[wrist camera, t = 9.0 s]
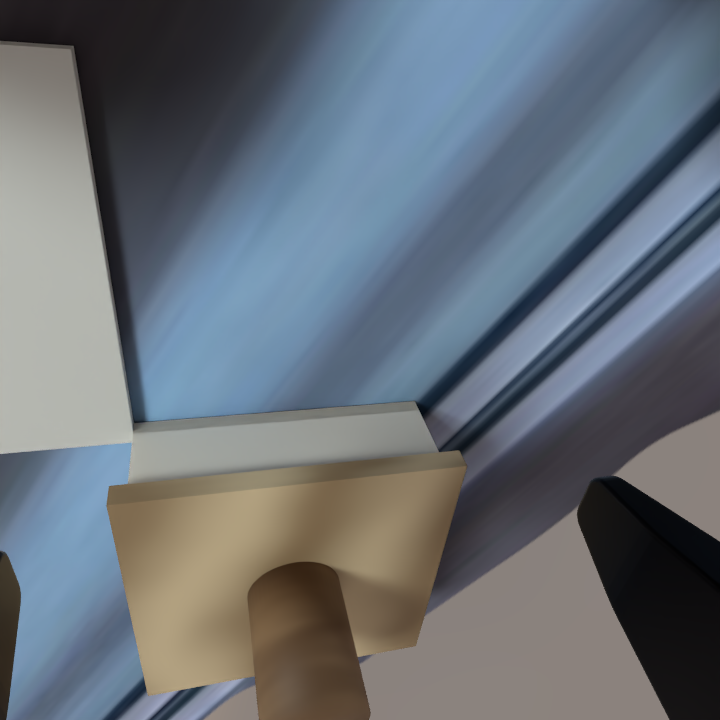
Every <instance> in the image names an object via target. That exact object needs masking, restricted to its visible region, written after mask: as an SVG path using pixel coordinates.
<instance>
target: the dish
mask: <svg viewBox="0 0 720 720" xmlns="http://www.w3.org/2000/svg"><path fill="white" fill-rule="evenodd" d="M438 452H439V451H438V449H437V447H436V445H435V443H434V440H433V438H432V436H431V434H430V432H429V430H428V428H427V426H426V424H425V422H424V420H423V418H422V415H421V413H420V411H419V409H418V407H417V405H416V403H415V401H409V402H397V403H384V404H371V405H358V406H345V407H333V408H320V409H307V410H294V411H282V412H269V413H256V414H243V415H230V416H218V417H205V418H192V419H179V420H166V421H154V422H141V423H134V427H133V437H132V448H131V458H130V468H129V479H128V484H134V483H144V482H154V481H164V480H173V479H183V478H193V477H203V476H213V475H223V474H232V473H242V472H252V471H262V470H272V469H281V468H291V467H301V466H311V465H321V464H330V463H340V462H350V461H360V460H370V459H379V458H389V457H399V456H409V455H419V454H428V453H438Z"/></svg>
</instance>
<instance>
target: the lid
mask: <svg viewBox="0 0 720 720" xmlns="http://www.w3.org/2000/svg"><path fill="white" fill-rule="evenodd" d="M466 469H467V465H466V463H465V461H464V459H463V457H462V455H461V453H460V451H459V450H458V451H448V452H438V453H428V454H419V455H409V456H399V457H389V458H379V459H370V460H360V461H350V462H340V463H330V464H321V465H311V466H301V467H291V468H281V469H272V470H262V471H252V472H242V473H232V474H223V475H213V476H203V477H193V478H183V479H173V480H164V481H154V482H144V483H134V484H124V485H115V486H109V490H108V498H107V510H108V515H109V519H110V524H111V528H112V533H113V537H114V542H115V547H116V551H117V556H118V560H119V565H120V569H121V574H122V579H123V583H124V588H125V592H126V597H127V601H128V606H129V611H130V615H131V620H132V624H133V629H134V634H135V638H136V643H137V647H138V652H139V656H140V661H141V666H142V670H143V675H144V679H145V684H146V688H147V693H148V696H150V695H156V694H161V693H167V692H172V691H177V690H183V689H188V688H193V687H199V686H204V685H209V684H215V683H220V682H226V681H231V680H236V679H242V678H247V677H252V676H255V684H256V694H257V704H258V715H259V720H369V718H370V708H369V703H368V699H367V695H366V691H365V687H364V682H363V679H362V674H361V670H360V665H359V661H358V657H360V656H365V655H370V654H376V653H381V652H386V651H392V650H397V649H402V648H408V647H413V646H416V643H417V640H418V637H419V633H420V630H421V626H422V623H423V619H424V616H425V612H426V609H427V605H428V602H429V598H430V595H431V591H432V588H433V584H434V581H435V577H436V574H437V570H438V567H439V563H440V560H441V556H442V553H443V549H444V546H445V542H446V539H447V535H448V532H449V528H450V525H451V521H452V518H453V514H454V511H455V507H456V504H457V500H458V497H459V493H460V490H461V486H462V483H463V479H464V476H465V472H466Z"/></svg>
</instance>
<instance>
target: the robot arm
mask: <svg viewBox="0 0 720 720" xmlns="http://www.w3.org/2000/svg"><path fill="white" fill-rule="evenodd" d="M577 517H578V523H579V526H580V528H581V531H582V533H583V536H584V538H585V541H586V543H587V546H588V548H589V551H590V553H591V556H592V558H593V561H594V564H595V566H596V568H597V571H598V573H599V576H600V579H601V581H602V584H603V586H604V589H605V591H606V594H607V596H608V598H609V601H610V603H611V605H612V608H613V610H614V611H615V614H616V616H617V618H618V620H619V622H620V624H621V626H622V628H623V629H624V632H625V634H626V635H627V638H628V639H629V641H630V643H631V645H632V647H633V649H634V651H635V653H636V655H637V657H638V659H639V661H640V663H641V665H642V667H643V669H644V671H645V673H646V675H647V676H648V679H649V680H650V682H651V684H652V686H653V688H654V690H655V692H656V694H657V696H658V698H659V700H660V702H661V704H662V706H663V708H664V709H665V712H666V714H667V715H668V718H669V720H720V542H719V541H718V540H716V539H715V538H713V537H712V536H710V535H709V534H707V533H706V532H704V531H702V530H700V529H699V528H698V527H696V526H695V525H693V524H692V523H690V522H688V521H687V520H685V519H684V518H682V517H681V516H679V515H678V514H676V513H674V512H673V511H671V510H670V509H668V508H667V507H665V506H663V505H662V504H660V503H659V502H657V501H656V500H654V499H653V498H651V497H649V496H648V495H646V494H645V493H643V492H642V491H640V490H638V489H637V488H635V487H634V486H632V485H631V484H629V483H628V482H626V481H625V480H623V479H621V478H619V477H616V476H606V477H598V478H594V479H593V480H592V481H591V482H590V484H589V486H588V488H587V490H586V492H585V494H584V496H583V499H582V501H581V503H580V505H579V507H578V512H577ZM20 603H21V592H20V586H19V583H18V580H17V578H16V575H15V573H14V570H13V568H12V565H11V563H10V560H9V557H8V556H7V554H6V553H5V552H3V551H0V720H6V718H7V710H8V703H9V696H10V687H11V679H12V671H13V662H14V654H15V646H16V637H17V629H18V620H19V612H20Z"/></svg>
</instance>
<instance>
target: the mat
mask: <svg viewBox="0 0 720 720" xmlns="http://www.w3.org/2000/svg"><path fill="white" fill-rule="evenodd" d="M133 427H134V421H133V414H132V408H131V402H130V396H129V389H128V383H127V377H126V370H125V364H124V358H123V352H122V345H121V339H120V333H119V327H118V320H117V314H116V308H115V302H114V295H113V289H112V283H111V277H110V270H109V264H108V258H107V252H106V245H105V239H104V233H103V227H102V220H101V214H100V208H99V202H98V195H97V189H96V183H95V177H94V170H93V164H92V158H91V151H90V145H89V139H88V133H87V126H86V120H85V114H84V108H83V101H82V95H81V89H80V83H79V76H78V70H77V64H76V58H75V51H74V46H69V45H54V44H39V43H25V42H10V41H0V454H3V453H15V452H27V451H38V450H50V449H62V448H73V447H85V446H97V445H108V444H120V443H132V437H133Z"/></svg>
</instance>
